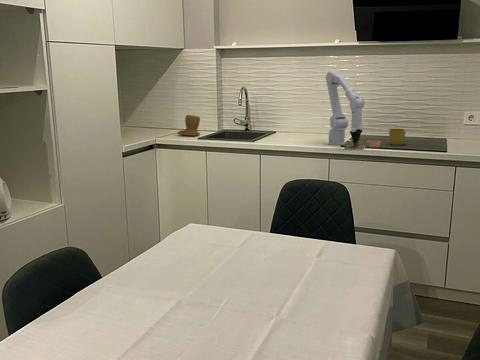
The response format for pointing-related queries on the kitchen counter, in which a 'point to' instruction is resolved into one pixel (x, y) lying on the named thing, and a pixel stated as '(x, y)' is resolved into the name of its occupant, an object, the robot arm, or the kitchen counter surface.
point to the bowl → (373, 143)
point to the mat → (355, 148)
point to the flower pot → (396, 136)
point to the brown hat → (191, 126)
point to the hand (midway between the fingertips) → (355, 142)
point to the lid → (356, 145)
